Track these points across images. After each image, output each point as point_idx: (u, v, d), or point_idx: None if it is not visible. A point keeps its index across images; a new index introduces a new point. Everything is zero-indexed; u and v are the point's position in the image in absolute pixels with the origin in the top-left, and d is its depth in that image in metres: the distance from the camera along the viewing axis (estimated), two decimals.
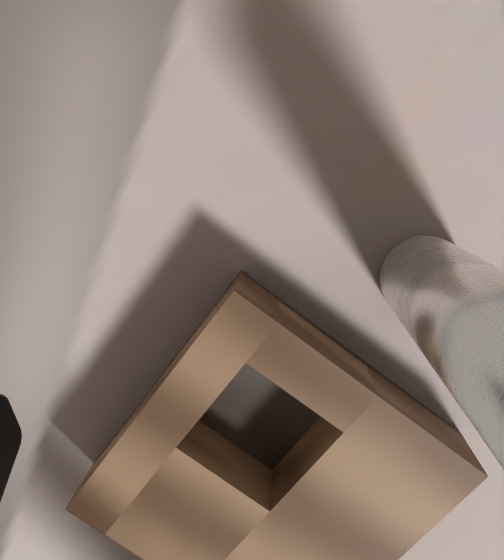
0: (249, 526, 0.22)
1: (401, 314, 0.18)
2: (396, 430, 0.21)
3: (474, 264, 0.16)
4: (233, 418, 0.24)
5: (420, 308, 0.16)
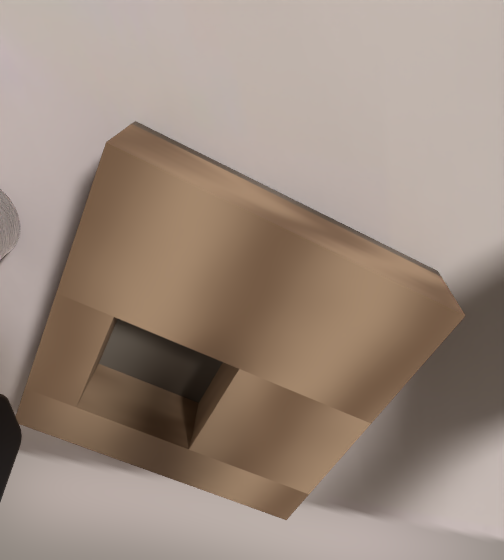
0: (265, 384, 0.20)
1: None
2: (88, 265, 0.17)
3: None
4: (191, 367, 0.23)
5: None
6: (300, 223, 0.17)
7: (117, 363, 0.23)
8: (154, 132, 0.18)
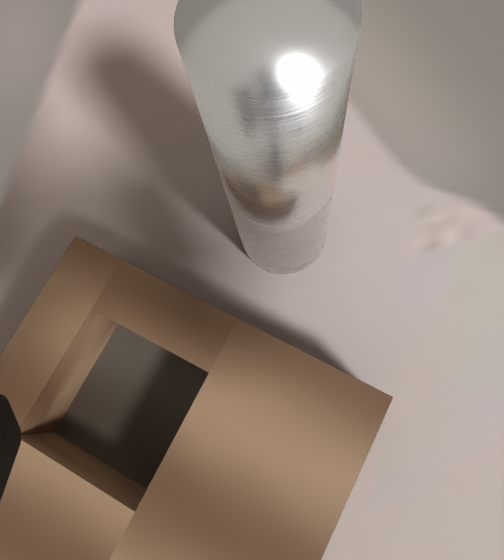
0: (110, 544, 0.16)
1: (232, 212, 0.18)
2: (268, 357, 0.18)
3: None
4: (106, 428, 0.20)
5: None
6: None
7: (117, 342, 0.21)
8: None
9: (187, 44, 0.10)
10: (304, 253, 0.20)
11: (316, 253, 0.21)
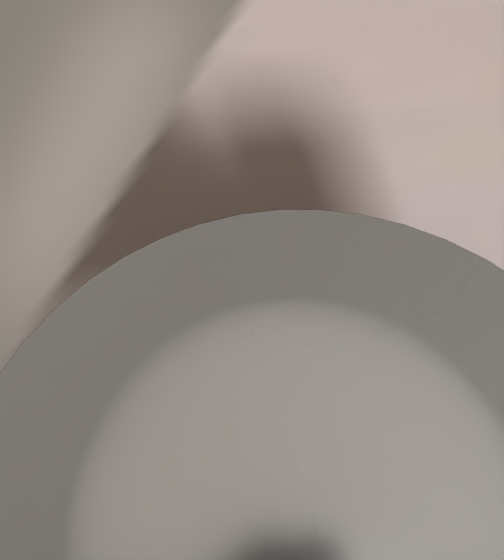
0: None
1: None
2: None
3: None
4: None
5: None
6: None
7: None
8: None
9: None
10: None
11: None
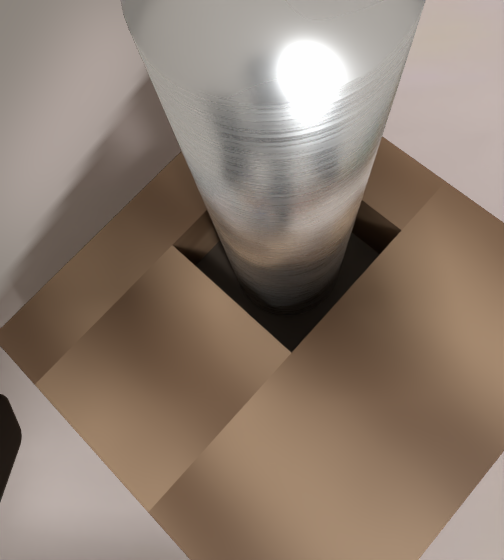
0: (257, 378, 0.15)
1: None
2: (474, 229, 0.15)
3: None
4: None
5: None
6: None
7: None
8: None
9: (140, 15, 0.06)
10: (313, 295, 0.16)
11: (327, 292, 0.17)
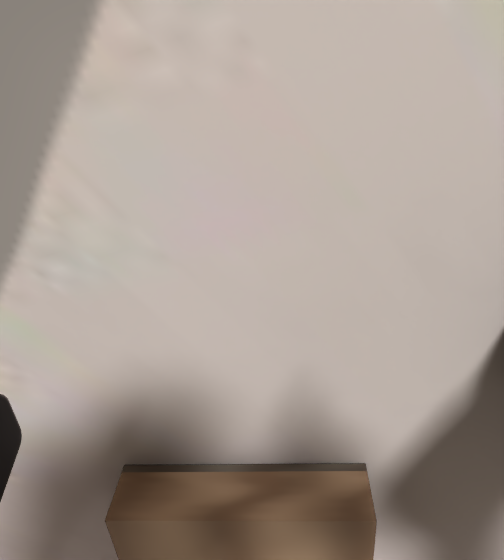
0: None
1: None
2: None
3: None
4: None
5: None
6: (241, 500, 0.25)
7: None
8: (137, 467, 0.28)
9: None
10: None
11: None
